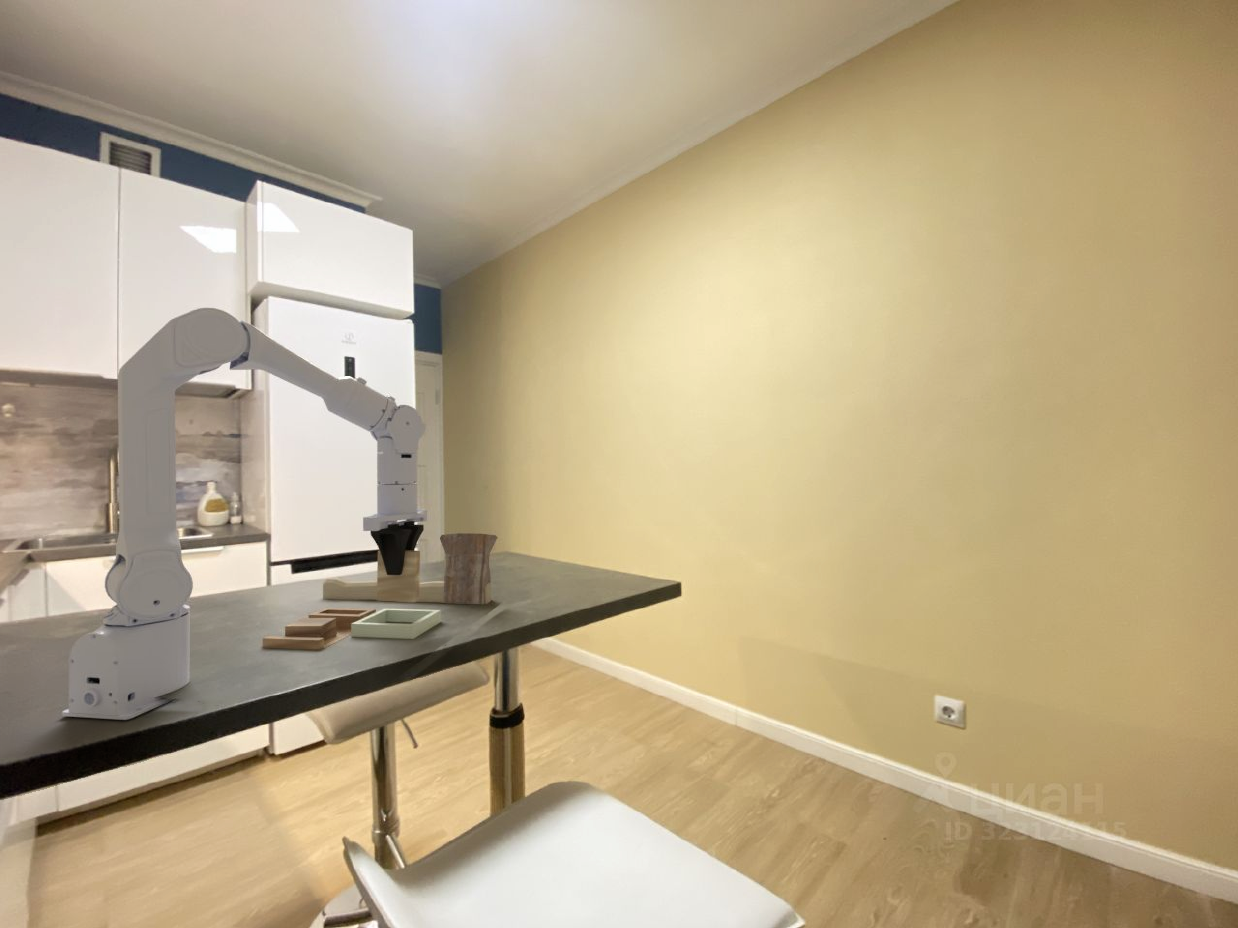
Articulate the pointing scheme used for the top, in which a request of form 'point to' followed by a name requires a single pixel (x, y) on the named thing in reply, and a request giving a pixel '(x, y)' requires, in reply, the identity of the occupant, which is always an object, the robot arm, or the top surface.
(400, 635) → the tray
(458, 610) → the top surface
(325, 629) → the offcut top
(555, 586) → the top surface
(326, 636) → the offcut low
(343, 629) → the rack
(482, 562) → the hand axe
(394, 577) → the upright wooden block
